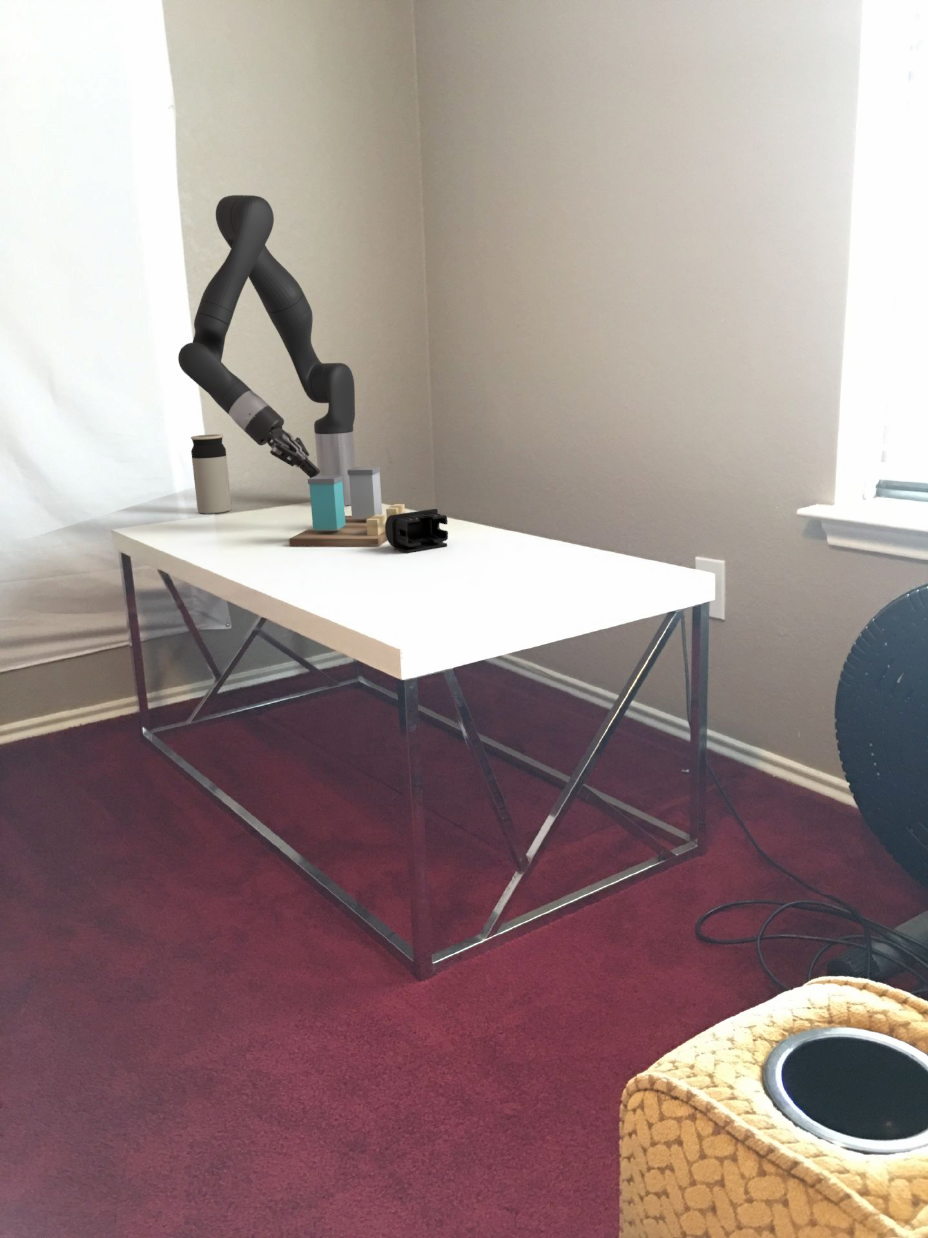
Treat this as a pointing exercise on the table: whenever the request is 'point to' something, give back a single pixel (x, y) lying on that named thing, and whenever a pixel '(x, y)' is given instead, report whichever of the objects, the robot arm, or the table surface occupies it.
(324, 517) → the teal key
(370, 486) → the grey key
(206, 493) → the travel mug
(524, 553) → the table surface
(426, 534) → the end cap
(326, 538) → the key base
